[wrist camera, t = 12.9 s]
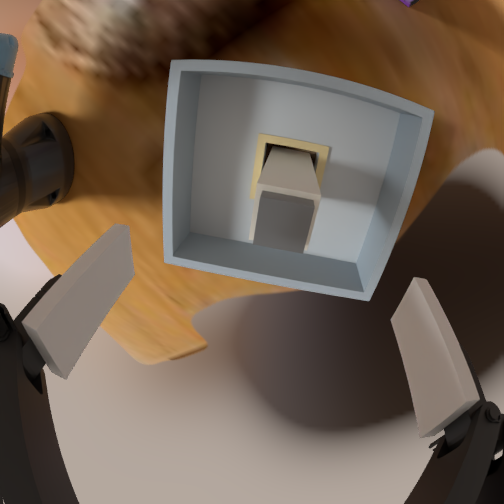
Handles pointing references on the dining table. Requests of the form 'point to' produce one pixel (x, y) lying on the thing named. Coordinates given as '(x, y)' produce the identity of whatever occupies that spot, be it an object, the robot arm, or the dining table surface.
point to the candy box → (409, 2)
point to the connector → (285, 201)
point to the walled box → (252, 163)
